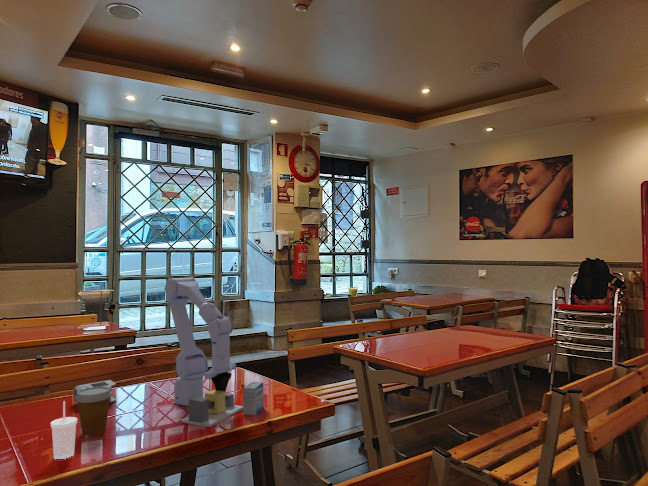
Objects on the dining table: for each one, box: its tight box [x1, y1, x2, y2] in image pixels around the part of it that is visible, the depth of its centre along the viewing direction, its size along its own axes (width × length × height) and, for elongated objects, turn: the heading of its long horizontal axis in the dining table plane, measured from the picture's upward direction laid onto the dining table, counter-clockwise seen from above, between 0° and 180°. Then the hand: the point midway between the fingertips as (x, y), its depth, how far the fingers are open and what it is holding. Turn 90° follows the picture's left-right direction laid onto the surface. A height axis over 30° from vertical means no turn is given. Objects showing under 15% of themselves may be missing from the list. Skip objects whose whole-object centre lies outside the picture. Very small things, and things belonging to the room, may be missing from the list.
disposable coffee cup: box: [76, 387, 113, 437], centre depth 138 cm, size 10×10×12 cm
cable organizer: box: [72, 379, 117, 405], centre depth 165 cm, size 7×12×12 cm
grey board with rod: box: [180, 393, 243, 428], centre depth 151 cm, size 11×18×7 cm, turn 156°
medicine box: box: [242, 381, 265, 416], centre depth 155 cm, size 8×4×9 cm, turn 168°
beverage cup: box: [50, 400, 78, 460], centre depth 122 cm, size 6×6×14 cm
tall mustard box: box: [204, 389, 226, 414], centre depth 152 cm, size 5×4×6 cm
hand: (221, 396), depth 155 cm, fingers closed
